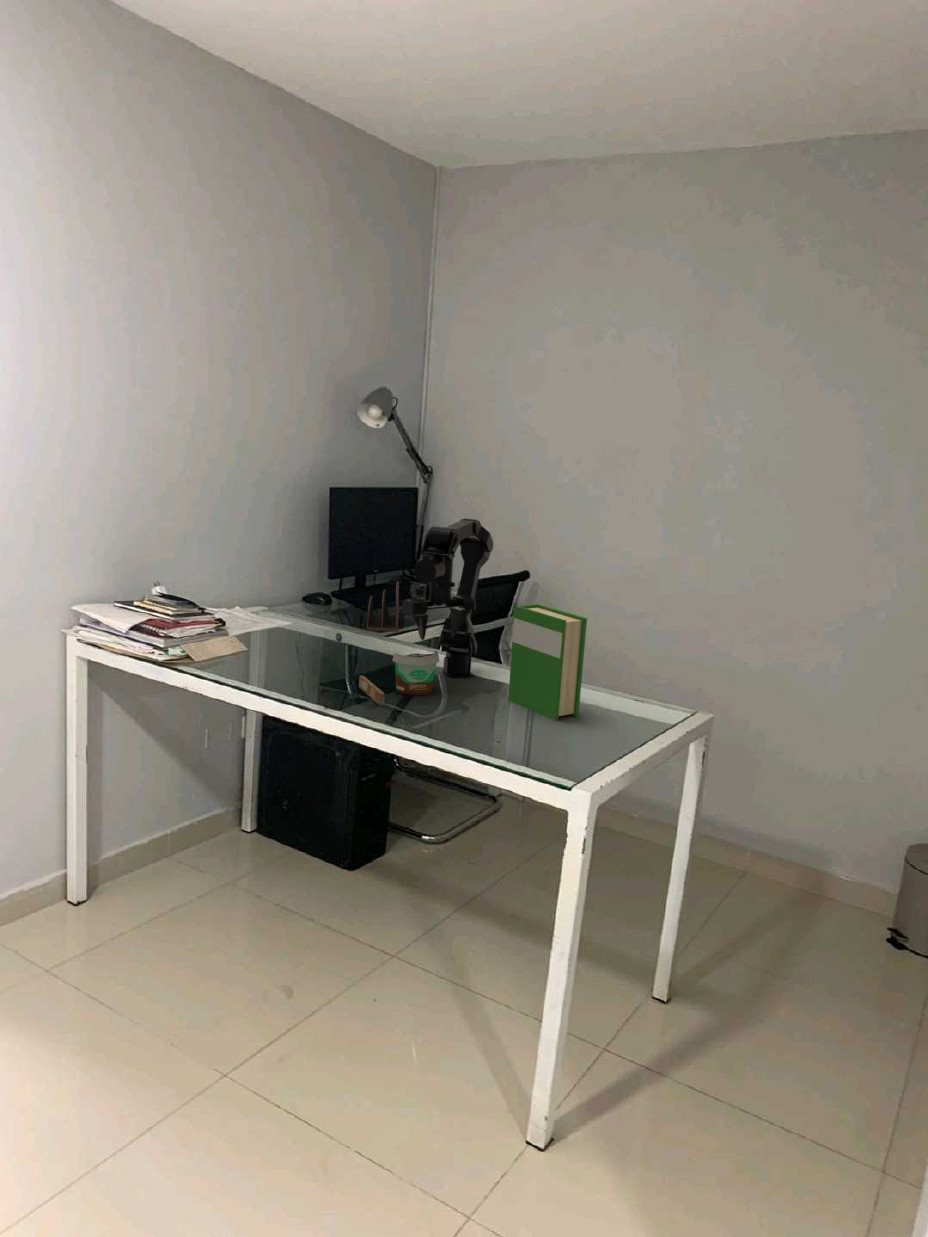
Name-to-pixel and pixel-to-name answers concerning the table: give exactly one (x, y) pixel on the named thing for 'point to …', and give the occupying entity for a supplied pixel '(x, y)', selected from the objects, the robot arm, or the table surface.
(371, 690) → the rail
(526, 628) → the hardback book
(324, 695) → the table surface
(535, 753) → the table surface
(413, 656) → the food container
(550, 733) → the table surface
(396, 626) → the letter holder
